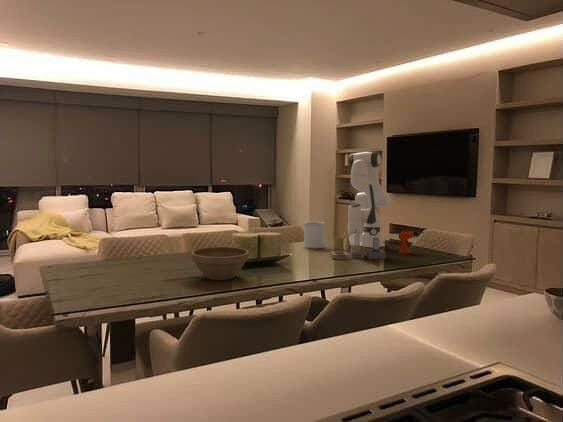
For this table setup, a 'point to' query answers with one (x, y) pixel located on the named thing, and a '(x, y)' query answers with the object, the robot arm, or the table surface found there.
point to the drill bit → (376, 244)
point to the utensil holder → (314, 234)
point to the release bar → (355, 251)
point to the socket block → (376, 254)
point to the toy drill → (406, 241)
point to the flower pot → (219, 261)
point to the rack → (339, 255)
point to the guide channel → (356, 257)
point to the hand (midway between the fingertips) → (354, 250)
